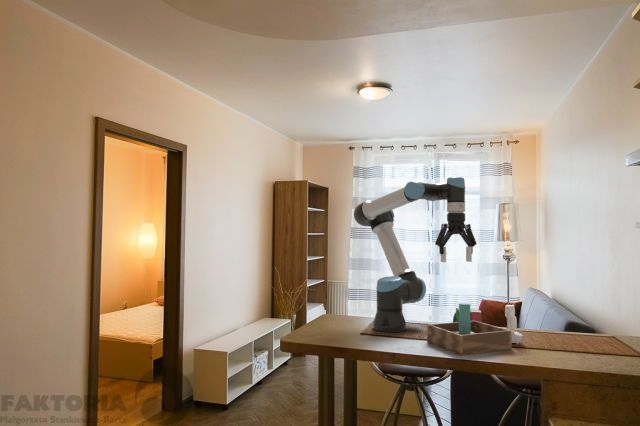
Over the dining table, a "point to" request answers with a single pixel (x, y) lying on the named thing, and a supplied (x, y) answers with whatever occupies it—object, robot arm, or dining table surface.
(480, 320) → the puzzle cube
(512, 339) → the figurine
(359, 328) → the dining table surface
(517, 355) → the dining table surface
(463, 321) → the teal peg
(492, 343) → the crate
